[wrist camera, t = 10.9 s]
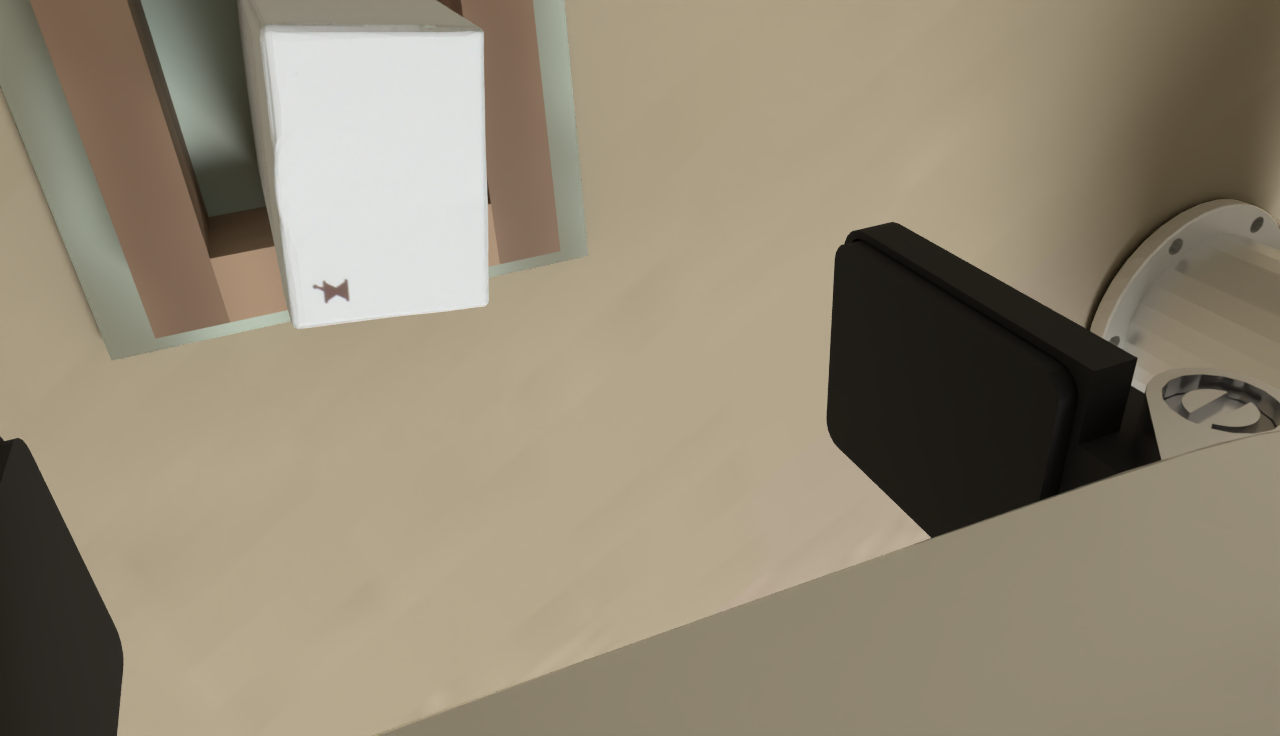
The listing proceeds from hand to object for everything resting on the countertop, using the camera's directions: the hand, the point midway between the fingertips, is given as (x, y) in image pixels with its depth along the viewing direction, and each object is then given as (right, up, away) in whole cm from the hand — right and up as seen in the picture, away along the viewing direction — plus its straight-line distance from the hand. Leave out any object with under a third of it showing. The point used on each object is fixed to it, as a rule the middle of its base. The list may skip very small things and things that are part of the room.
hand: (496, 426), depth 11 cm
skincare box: (-8, +10, +17) cm, 21 cm away
